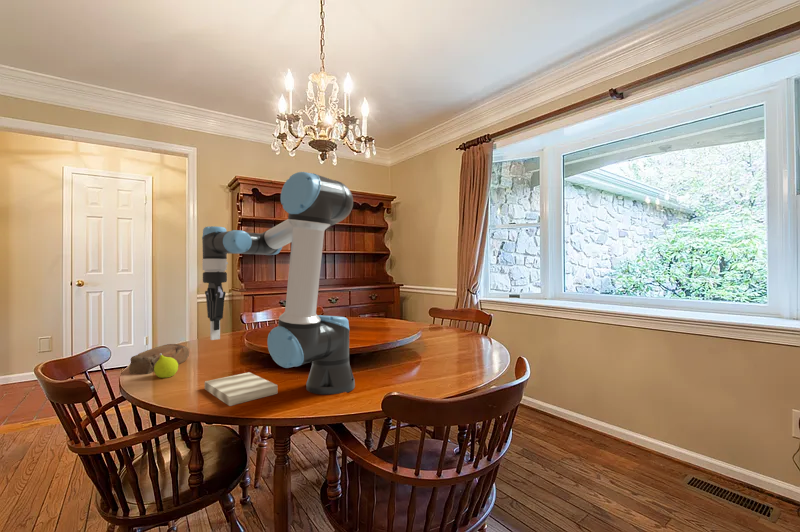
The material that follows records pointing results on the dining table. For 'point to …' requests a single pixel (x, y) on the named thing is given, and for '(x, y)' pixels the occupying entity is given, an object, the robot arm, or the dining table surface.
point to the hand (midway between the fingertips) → (215, 339)
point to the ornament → (165, 367)
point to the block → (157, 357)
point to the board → (240, 388)
